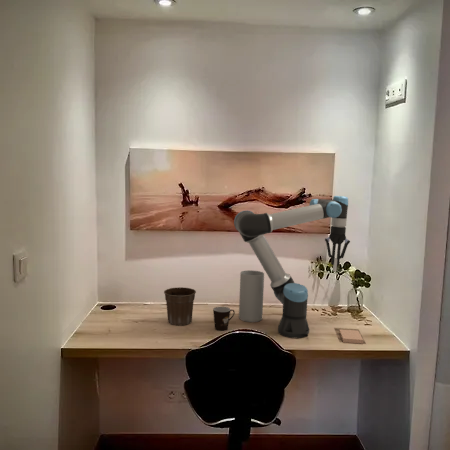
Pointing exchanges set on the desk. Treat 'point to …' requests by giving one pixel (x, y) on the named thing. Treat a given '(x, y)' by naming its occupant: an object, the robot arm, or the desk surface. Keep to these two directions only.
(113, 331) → the desk surface
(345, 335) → the picture frame
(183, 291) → the plant pot
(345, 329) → the board
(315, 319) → the desk surface
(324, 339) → the desk surface
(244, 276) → the cylinder vase
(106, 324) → the desk surface
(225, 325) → the coffee mug
